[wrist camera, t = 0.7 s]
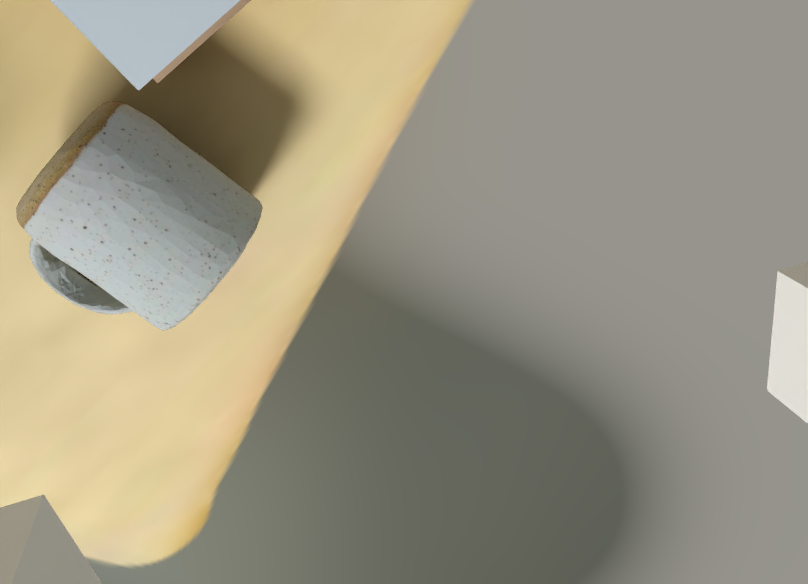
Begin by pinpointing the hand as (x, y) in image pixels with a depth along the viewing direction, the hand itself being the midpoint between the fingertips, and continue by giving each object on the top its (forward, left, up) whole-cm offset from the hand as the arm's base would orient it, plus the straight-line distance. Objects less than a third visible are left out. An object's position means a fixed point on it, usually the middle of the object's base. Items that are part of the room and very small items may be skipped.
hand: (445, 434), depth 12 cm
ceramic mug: (-2, -9, -25) cm, 27 cm away
